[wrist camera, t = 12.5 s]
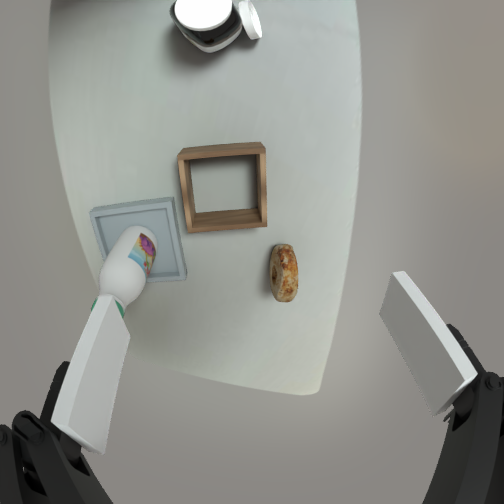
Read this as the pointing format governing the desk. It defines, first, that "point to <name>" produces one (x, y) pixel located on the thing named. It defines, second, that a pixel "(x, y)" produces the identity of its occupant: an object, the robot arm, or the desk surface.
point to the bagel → (283, 273)
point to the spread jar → (214, 22)
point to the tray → (152, 217)
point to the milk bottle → (128, 266)
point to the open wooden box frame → (228, 217)
